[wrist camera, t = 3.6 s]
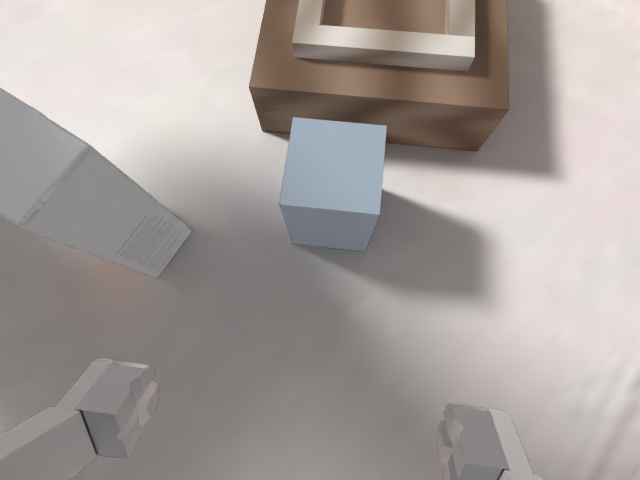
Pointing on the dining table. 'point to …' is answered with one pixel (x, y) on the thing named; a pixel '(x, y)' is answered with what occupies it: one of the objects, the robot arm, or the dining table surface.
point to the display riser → (385, 67)
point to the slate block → (333, 183)
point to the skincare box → (79, 194)
